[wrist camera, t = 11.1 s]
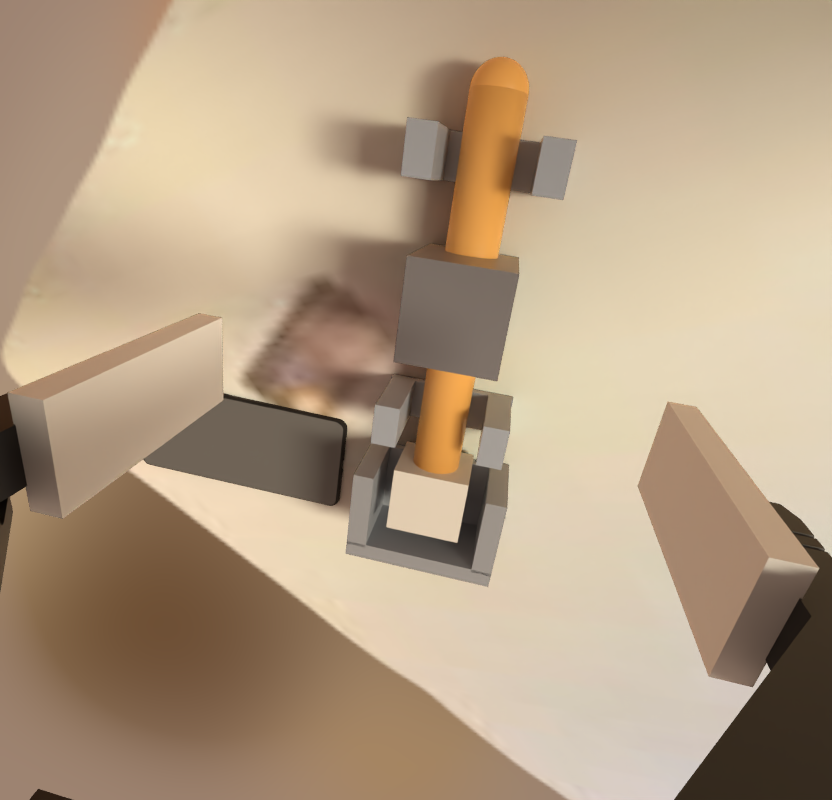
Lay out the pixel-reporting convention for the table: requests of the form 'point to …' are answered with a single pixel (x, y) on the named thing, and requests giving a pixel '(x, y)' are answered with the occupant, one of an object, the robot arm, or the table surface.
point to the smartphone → (261, 449)
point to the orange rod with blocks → (460, 307)
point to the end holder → (418, 551)
